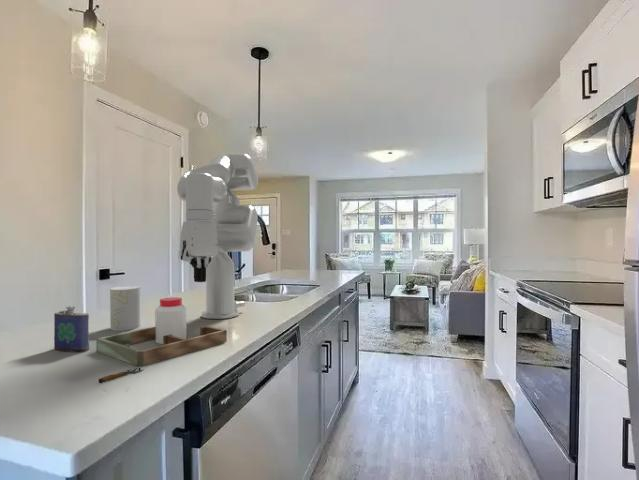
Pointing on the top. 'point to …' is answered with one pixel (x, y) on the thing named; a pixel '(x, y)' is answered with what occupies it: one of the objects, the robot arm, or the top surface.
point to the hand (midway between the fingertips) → (200, 281)
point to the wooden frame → (171, 346)
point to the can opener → (118, 375)
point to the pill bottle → (170, 319)
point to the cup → (125, 308)
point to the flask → (71, 331)
